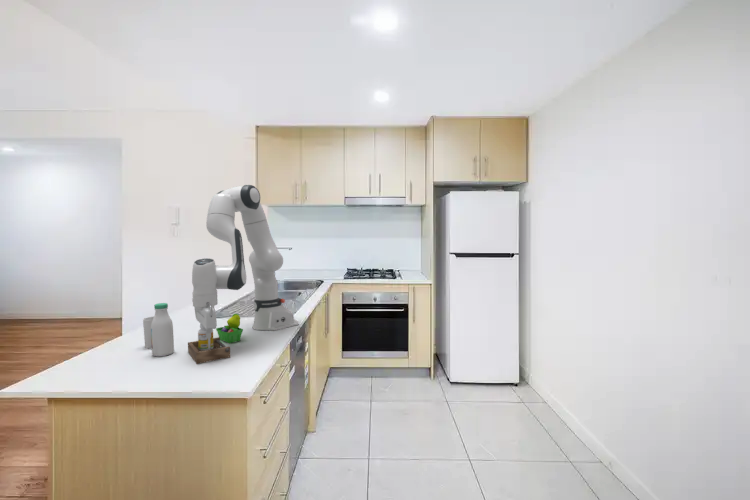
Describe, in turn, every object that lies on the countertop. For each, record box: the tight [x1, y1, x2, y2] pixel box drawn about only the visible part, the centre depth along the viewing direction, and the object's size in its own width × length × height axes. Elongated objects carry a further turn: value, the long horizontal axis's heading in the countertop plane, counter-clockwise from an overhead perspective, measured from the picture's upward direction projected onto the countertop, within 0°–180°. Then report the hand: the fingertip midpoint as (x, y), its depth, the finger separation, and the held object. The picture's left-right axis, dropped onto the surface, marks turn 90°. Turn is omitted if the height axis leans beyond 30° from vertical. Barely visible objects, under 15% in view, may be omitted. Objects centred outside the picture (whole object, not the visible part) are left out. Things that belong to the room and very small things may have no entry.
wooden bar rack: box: [187, 336, 231, 365], centre depth 153 cm, size 12×18×4 cm
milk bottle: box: [151, 302, 175, 357], centre depth 154 cm, size 8×8×20 cm
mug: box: [142, 315, 155, 349], centre depth 166 cm, size 10×7×12 cm, turn 1°
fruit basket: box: [215, 313, 244, 344], centre depth 172 cm, size 11×9×11 cm
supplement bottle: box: [197, 323, 214, 351], centre depth 152 cm, size 5×5×10 cm
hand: (206, 335), depth 152 cm, fingers closed on supplement bottle, 5 cm apart
